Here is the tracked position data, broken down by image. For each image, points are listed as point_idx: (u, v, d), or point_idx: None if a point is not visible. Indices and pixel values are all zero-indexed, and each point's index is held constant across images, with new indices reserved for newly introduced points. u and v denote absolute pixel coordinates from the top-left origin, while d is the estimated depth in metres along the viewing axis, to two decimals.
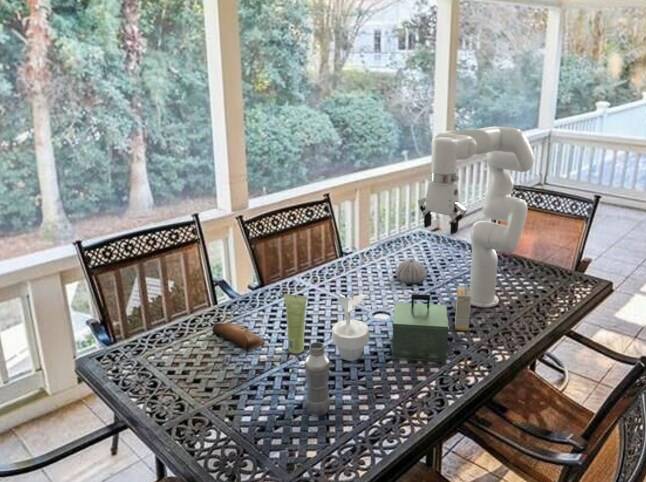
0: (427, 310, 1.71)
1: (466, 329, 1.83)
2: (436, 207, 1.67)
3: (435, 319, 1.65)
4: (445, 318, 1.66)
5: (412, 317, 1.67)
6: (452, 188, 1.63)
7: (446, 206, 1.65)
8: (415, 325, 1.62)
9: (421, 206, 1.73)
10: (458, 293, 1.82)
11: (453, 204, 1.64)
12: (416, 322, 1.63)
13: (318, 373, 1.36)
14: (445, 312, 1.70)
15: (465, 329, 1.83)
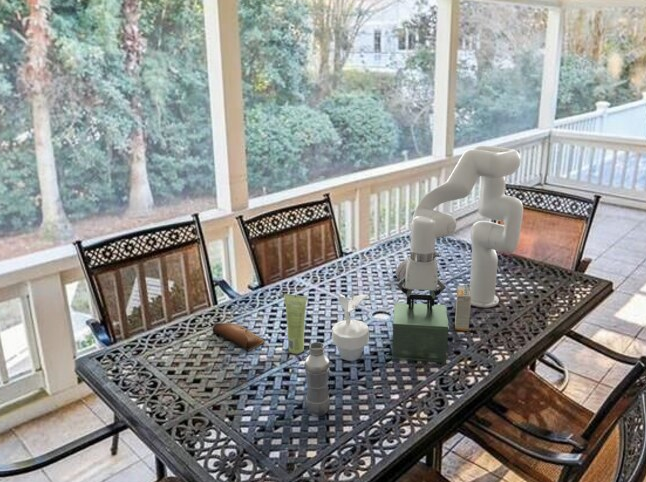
0: (427, 310, 1.71)
1: (466, 329, 1.83)
2: (419, 285, 1.69)
3: (435, 319, 1.65)
4: (445, 318, 1.66)
5: (412, 317, 1.67)
6: (436, 264, 1.67)
7: (431, 282, 1.68)
8: (415, 325, 1.62)
9: (403, 288, 1.71)
10: (458, 293, 1.82)
11: (437, 279, 1.68)
12: (416, 322, 1.63)
13: (318, 373, 1.36)
14: (445, 312, 1.70)
15: (465, 329, 1.83)
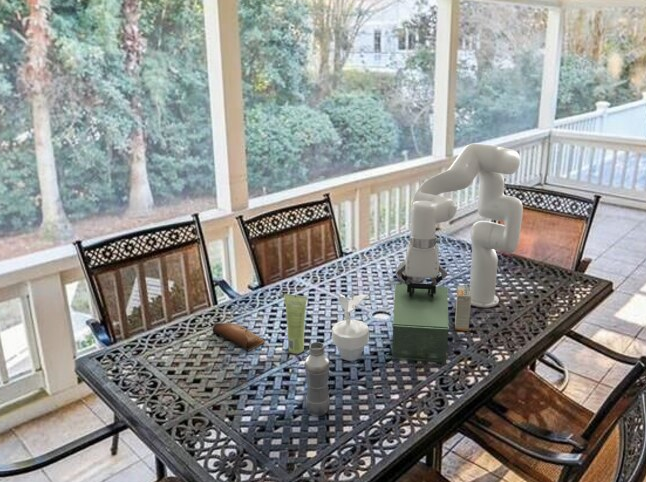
0: (428, 299, 1.68)
1: (466, 329, 1.83)
2: (420, 272, 1.63)
3: (435, 314, 1.64)
4: (446, 312, 1.64)
5: (412, 312, 1.65)
6: (436, 251, 1.61)
7: (432, 269, 1.62)
8: (415, 325, 1.62)
9: (403, 275, 1.66)
10: (458, 293, 1.82)
11: (438, 266, 1.63)
12: (416, 321, 1.63)
13: (318, 373, 1.36)
14: (446, 301, 1.67)
15: (465, 329, 1.83)
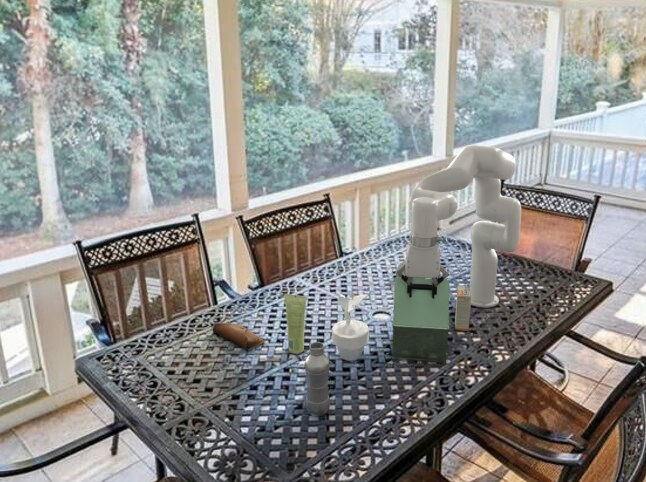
0: (428, 295, 1.63)
1: (466, 329, 1.83)
2: (421, 272, 1.56)
3: (436, 313, 1.62)
4: (446, 310, 1.61)
5: (412, 310, 1.63)
6: (438, 250, 1.54)
7: (433, 269, 1.55)
8: (415, 325, 1.62)
9: (403, 276, 1.58)
10: (458, 293, 1.82)
11: (440, 266, 1.55)
12: (416, 321, 1.62)
13: (318, 373, 1.36)
14: (447, 297, 1.62)
15: (465, 329, 1.83)
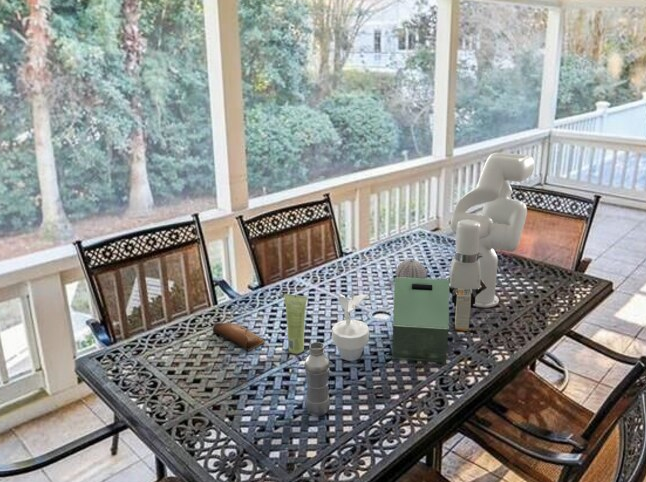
0: (428, 295, 1.63)
1: (466, 329, 1.83)
2: (463, 284, 1.80)
3: (436, 313, 1.62)
4: (446, 310, 1.61)
5: (412, 310, 1.62)
6: (479, 265, 1.79)
7: (474, 281, 1.80)
8: (415, 325, 1.62)
9: (449, 287, 1.83)
10: (458, 293, 1.82)
11: (480, 278, 1.80)
12: (416, 321, 1.62)
13: (318, 373, 1.36)
14: (447, 297, 1.62)
15: (465, 329, 1.83)
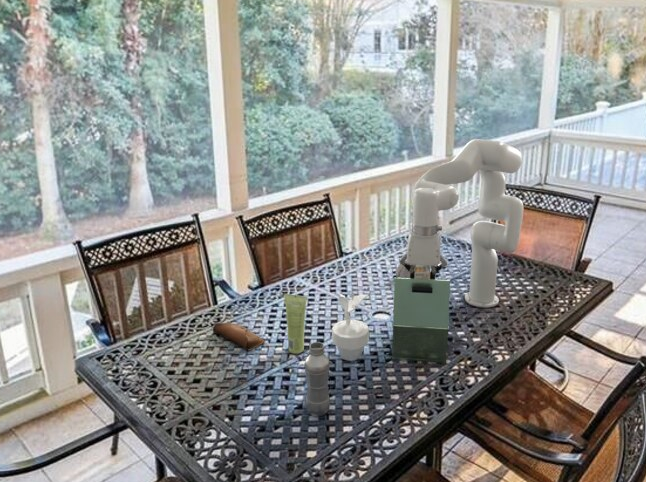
0: (429, 295, 1.61)
1: None
2: (421, 260, 1.62)
3: (436, 314, 1.61)
4: (447, 311, 1.60)
5: (412, 311, 1.62)
6: (438, 238, 1.60)
7: (433, 257, 1.61)
8: (415, 325, 1.62)
9: (406, 264, 1.65)
10: (416, 270, 1.64)
11: (440, 254, 1.62)
12: (416, 321, 1.62)
13: (318, 373, 1.36)
14: (448, 298, 1.60)
15: None
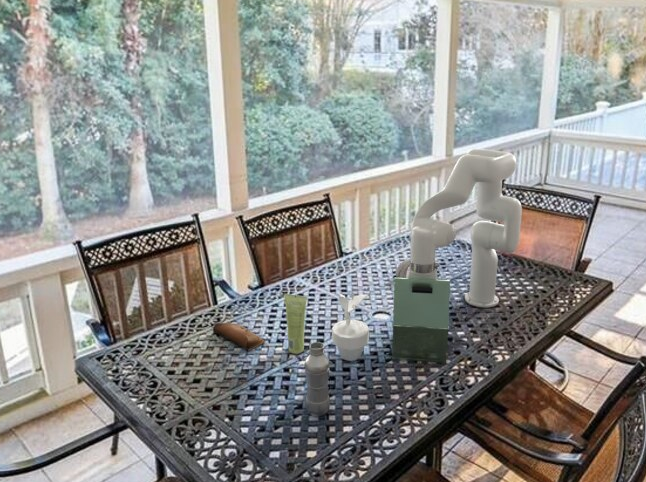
0: (429, 295, 1.61)
1: None
2: None
3: (436, 314, 1.61)
4: (447, 311, 1.60)
5: (412, 311, 1.62)
6: (436, 275, 1.64)
7: None
8: (415, 325, 1.62)
9: None
10: None
11: None
12: (416, 321, 1.62)
13: (318, 373, 1.36)
14: (448, 298, 1.60)
15: None
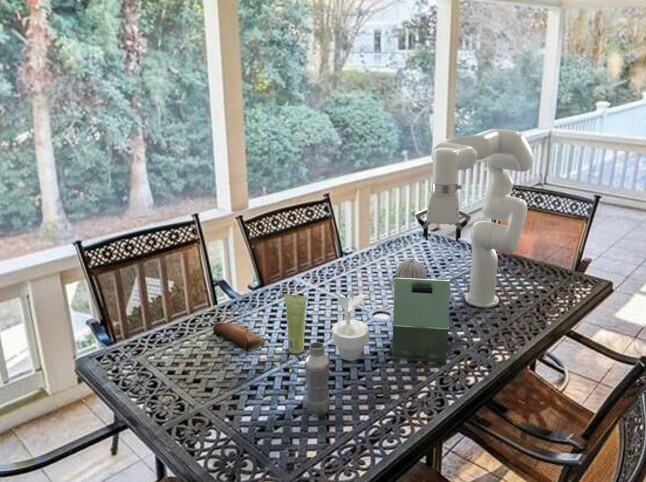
0: (429, 295, 1.61)
1: None
2: (441, 218, 1.67)
3: (436, 314, 1.61)
4: (447, 311, 1.60)
5: (412, 311, 1.62)
6: (458, 197, 1.65)
7: (453, 215, 1.66)
8: (415, 325, 1.62)
9: (420, 220, 1.69)
10: None
11: (459, 212, 1.66)
12: (416, 321, 1.62)
13: (318, 373, 1.36)
14: (448, 298, 1.60)
15: None
